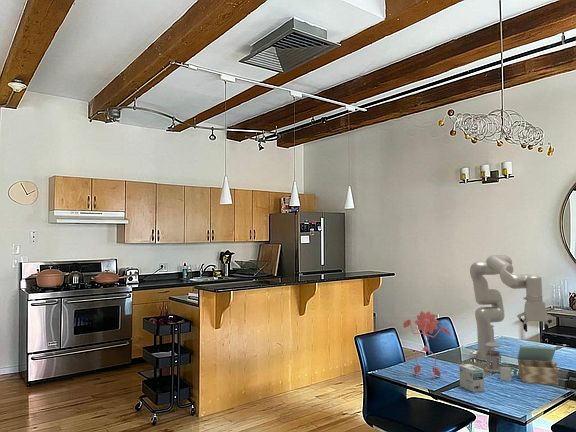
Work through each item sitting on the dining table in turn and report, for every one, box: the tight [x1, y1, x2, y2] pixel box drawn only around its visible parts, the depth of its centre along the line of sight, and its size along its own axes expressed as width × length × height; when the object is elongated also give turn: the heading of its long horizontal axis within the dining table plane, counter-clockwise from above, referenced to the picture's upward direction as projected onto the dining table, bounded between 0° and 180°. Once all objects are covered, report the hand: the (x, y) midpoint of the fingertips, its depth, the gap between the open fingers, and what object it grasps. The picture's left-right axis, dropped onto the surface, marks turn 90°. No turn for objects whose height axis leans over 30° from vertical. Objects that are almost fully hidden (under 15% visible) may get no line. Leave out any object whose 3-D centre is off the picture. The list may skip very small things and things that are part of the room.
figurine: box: [402, 310, 451, 380], centre depth 251 cm, size 15×26×35 cm, turn 59°
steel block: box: [499, 366, 512, 382], centre depth 241 cm, size 5×5×6 cm
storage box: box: [517, 359, 559, 386], centre depth 240 cm, size 16×14×8 cm
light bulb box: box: [458, 363, 486, 393], centre depth 227 cm, size 11×7×11 cm, turn 17°
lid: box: [517, 345, 557, 362], centre depth 242 cm, size 16×14×1 cm
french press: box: [483, 324, 502, 373], centre depth 260 cm, size 10×12×25 cm
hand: (535, 331), depth 242 cm, fingers open, 9 cm apart
